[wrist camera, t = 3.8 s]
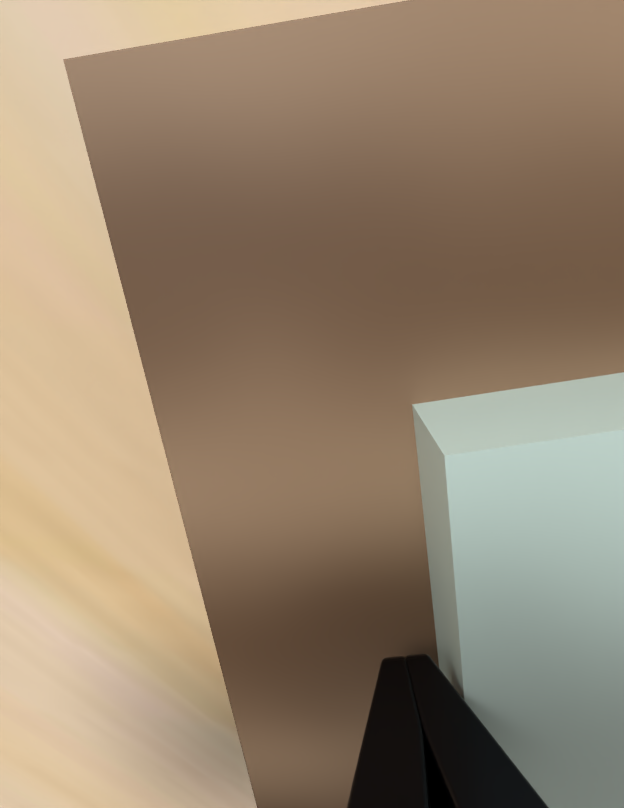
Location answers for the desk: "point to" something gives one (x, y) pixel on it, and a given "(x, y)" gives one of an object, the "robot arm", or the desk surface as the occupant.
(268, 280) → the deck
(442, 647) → the block
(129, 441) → the desk surface
